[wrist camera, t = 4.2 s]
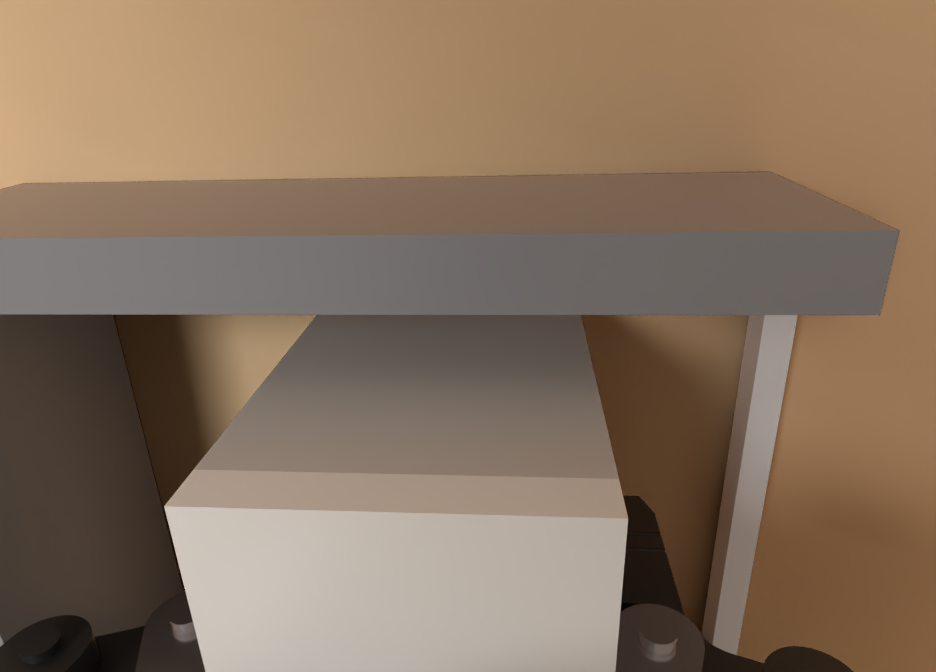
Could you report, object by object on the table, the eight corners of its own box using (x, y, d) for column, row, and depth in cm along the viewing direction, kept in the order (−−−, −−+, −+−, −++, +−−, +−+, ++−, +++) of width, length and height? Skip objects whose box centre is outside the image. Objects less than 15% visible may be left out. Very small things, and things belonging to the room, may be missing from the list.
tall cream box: (333, 293, 14) (163, 506, 7) (575, 293, 13) (628, 518, 7) (367, 593, 17) (269, 931, 10) (563, 600, 16) (591, 956, 10)
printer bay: (22, 183, 13) (-241, 249, 9) (804, 171, 12) (978, 240, 7) (155, 644, 18) (31, 843, 14) (720, 668, 17) (794, 895, 12)
